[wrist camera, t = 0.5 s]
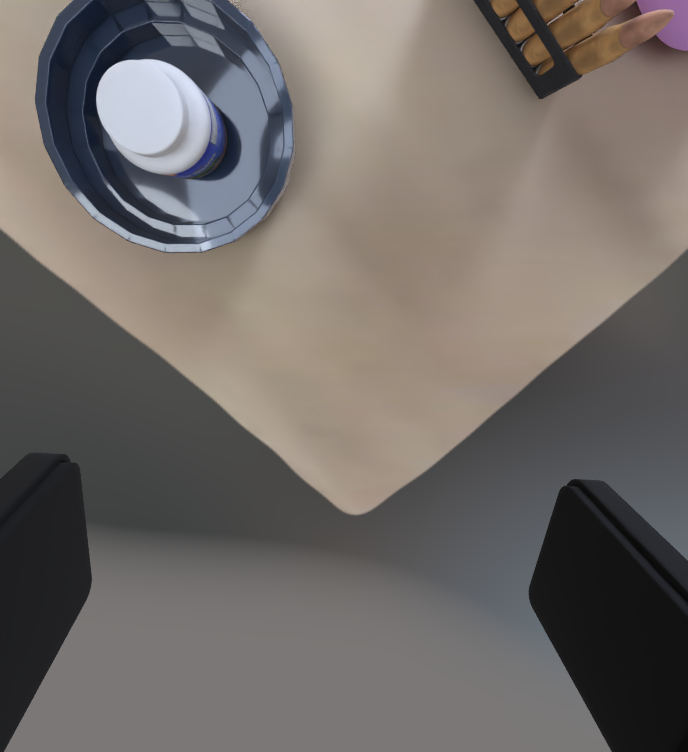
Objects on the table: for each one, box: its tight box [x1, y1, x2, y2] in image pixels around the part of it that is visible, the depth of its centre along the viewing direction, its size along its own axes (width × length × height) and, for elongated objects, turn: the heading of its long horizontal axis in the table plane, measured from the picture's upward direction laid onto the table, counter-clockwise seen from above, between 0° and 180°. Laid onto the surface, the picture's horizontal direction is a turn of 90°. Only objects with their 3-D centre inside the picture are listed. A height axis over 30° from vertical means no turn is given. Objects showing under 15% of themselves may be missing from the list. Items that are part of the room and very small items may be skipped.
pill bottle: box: [96, 59, 227, 179], centre depth 26 cm, size 5×5×10 cm
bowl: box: [35, 0, 295, 253], centre depth 29 cm, size 14×14×5 cm
